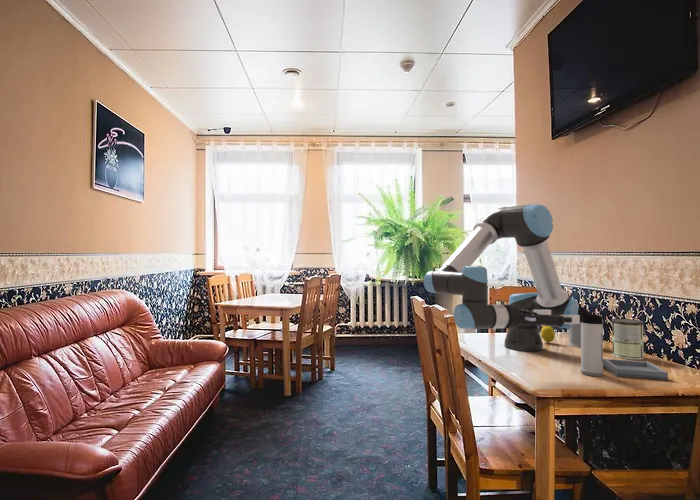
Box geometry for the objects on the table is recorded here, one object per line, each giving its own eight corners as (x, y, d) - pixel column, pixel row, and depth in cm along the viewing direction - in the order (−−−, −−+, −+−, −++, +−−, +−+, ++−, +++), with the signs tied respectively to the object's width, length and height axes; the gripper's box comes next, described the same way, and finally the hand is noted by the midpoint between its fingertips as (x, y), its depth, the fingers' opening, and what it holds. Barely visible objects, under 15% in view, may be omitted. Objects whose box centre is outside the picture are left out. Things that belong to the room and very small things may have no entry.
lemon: (544, 341, 190) (544, 323, 190) (556, 343, 186) (556, 325, 186) (539, 343, 186) (539, 325, 186) (552, 344, 182) (552, 326, 182)
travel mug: (576, 371, 139) (576, 311, 139) (596, 371, 139) (596, 311, 139) (586, 376, 133) (586, 313, 133) (607, 376, 133) (607, 314, 133)
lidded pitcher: (564, 343, 186) (564, 309, 186) (598, 344, 185) (598, 310, 185) (573, 347, 177) (573, 312, 178) (608, 348, 176) (608, 313, 176)
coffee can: (606, 353, 167) (606, 318, 167) (634, 354, 166) (633, 318, 166) (620, 359, 156) (620, 321, 157) (650, 360, 155) (649, 322, 156)
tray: (616, 376, 133) (616, 368, 133) (602, 365, 146) (602, 358, 146) (667, 380, 129) (667, 372, 129) (648, 369, 143) (648, 361, 143)
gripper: (484, 322, 143) (540, 322, 146) (526, 335, 118) (592, 334, 122) (484, 300, 143) (540, 301, 147) (526, 309, 119) (592, 309, 122)
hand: (564, 316), depth 134 cm, fingers open, 13 cm apart
